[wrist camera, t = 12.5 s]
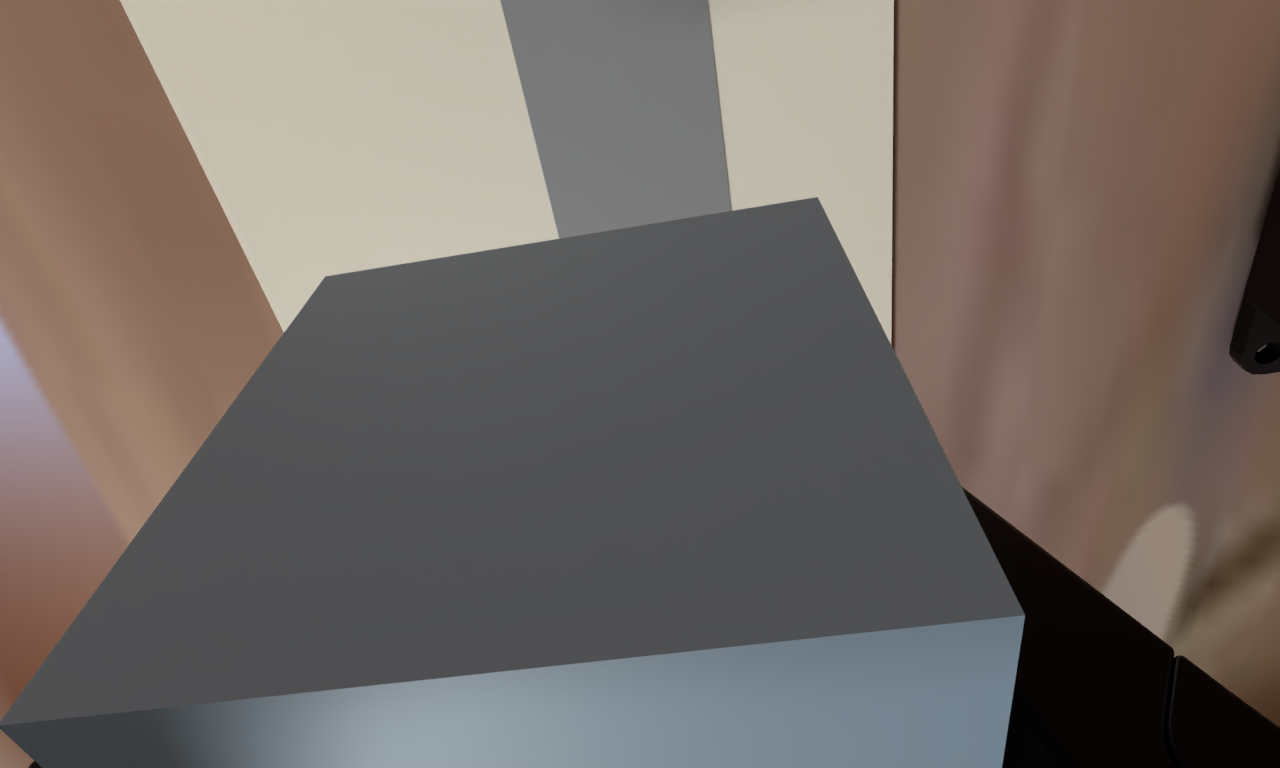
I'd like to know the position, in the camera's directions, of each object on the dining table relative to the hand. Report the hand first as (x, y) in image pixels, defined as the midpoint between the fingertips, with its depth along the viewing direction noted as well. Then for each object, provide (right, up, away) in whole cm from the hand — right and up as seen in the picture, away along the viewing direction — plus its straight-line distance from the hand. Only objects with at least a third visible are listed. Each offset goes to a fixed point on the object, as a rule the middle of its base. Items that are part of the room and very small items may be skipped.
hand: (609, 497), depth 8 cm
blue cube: (0, +1, +1) cm, 1 cm away
